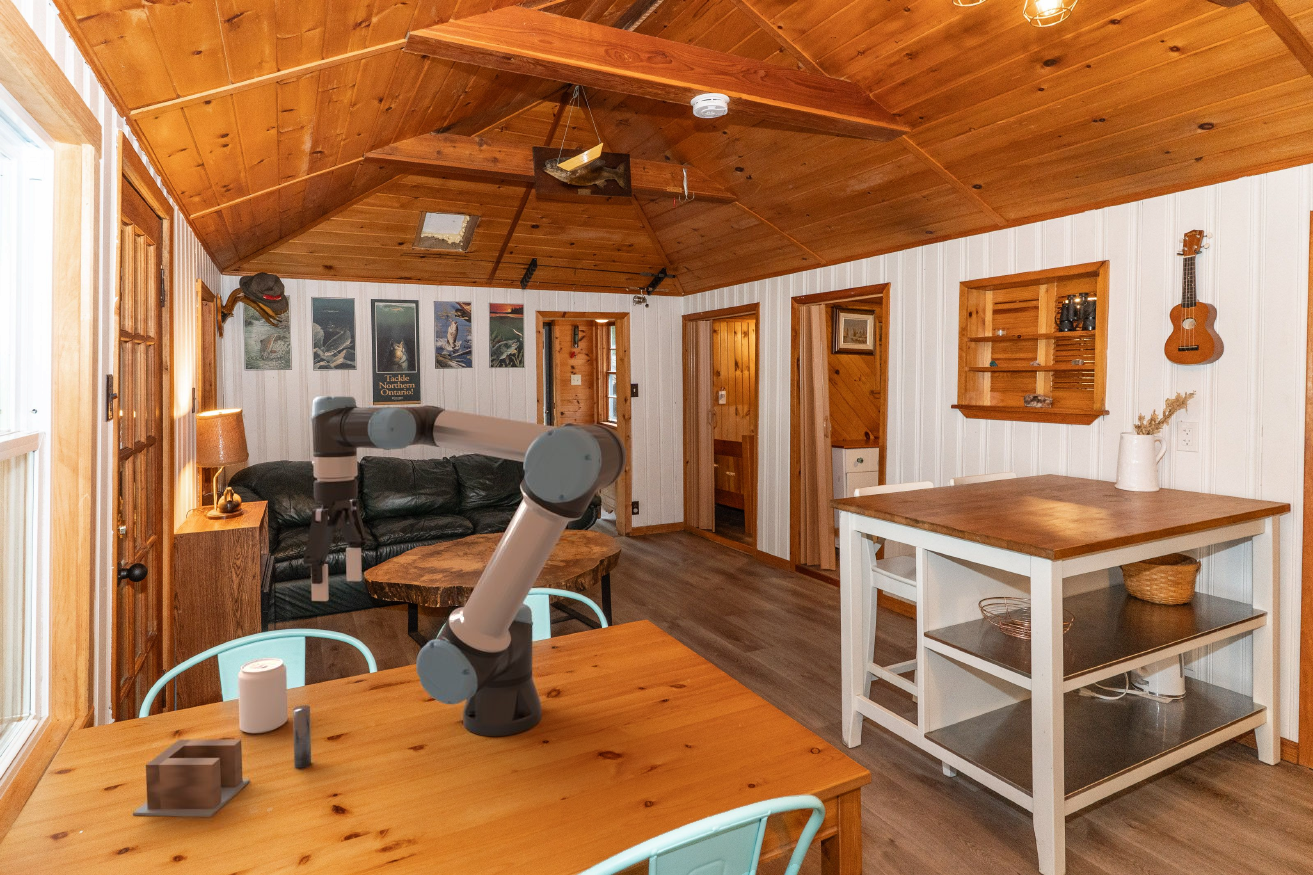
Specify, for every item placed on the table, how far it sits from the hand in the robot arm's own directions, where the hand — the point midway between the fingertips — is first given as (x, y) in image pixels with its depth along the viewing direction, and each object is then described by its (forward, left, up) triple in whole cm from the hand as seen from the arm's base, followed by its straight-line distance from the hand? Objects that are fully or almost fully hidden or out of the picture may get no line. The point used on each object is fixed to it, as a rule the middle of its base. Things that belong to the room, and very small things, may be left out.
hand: (338, 590), depth 137 cm
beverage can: (+15, 0, -27) cm, 31 cm away
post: (0, +14, -27) cm, 30 cm away
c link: (+12, +24, -26) cm, 38 cm away
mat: (+12, +25, -27) cm, 38 cm away
